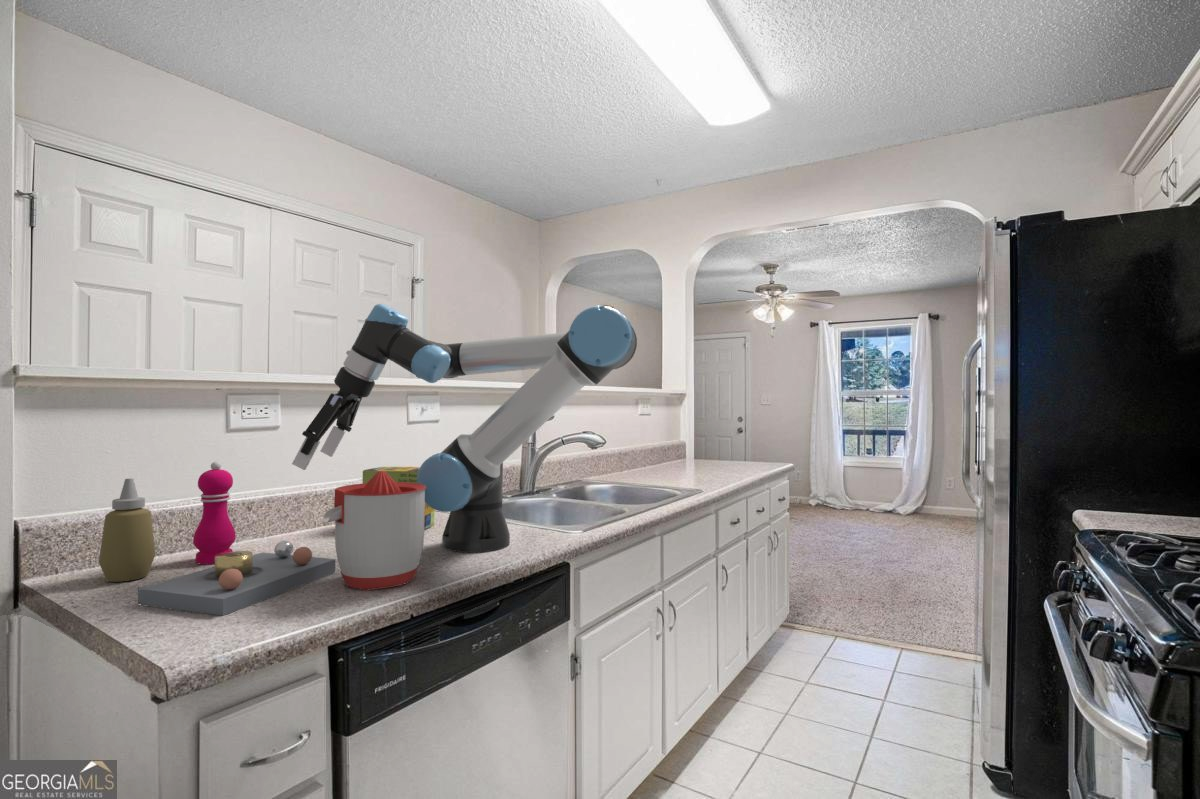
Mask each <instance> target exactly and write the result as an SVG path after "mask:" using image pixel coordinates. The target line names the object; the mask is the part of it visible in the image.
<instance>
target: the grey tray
mask: <svg viewBox="0 0 1200 799" xmlns="http://www.w3.org/2000/svg"><path fill="white" fill-rule="evenodd" d="M334 573H336V558H329V557H317V556H312V558H311V560H310V561H309V562H308V563H307V564H304V565H298V564H296V563H295V562H294V561H293V554H291V555H290V556H288V557H286V558H280V557H278V556H277V555H276V554H275V552H274V553H272V552H259V553H256V554H253V557H252V571H251V572H249V573H247V574H243V575H242V576H243V579H242V582H241V584H240V585H239V586H238V587H237V588H235V589H231V590H226V589H224V588H222V587H221V586H220V584H219V577H218V576H215V565H214V566H211V567H207V568H204V569H202V570H198V571H195V572H191V573H187V574H184V575H181V576H178V577H174V578H171V579H166V580H163V581H160V582H159V581H158V582H156V583H153V584H150V585H149V584H148V585H146V586H143V587H139V588H137V605H138V604H141V605H140V606H144V605H147V606H146V607H152V606H154V608H159V607H164V608H163V609H167V608H171V609H170V610H175V609H177V610H176V611H182V610H186V611H185V612H190V611H192V612H191V613H198V612H202V613H201V614H205V613H207V614H206V615H213V614H215V616H221V615H223V616H226V615H229V614H231V612H232V613H234V612H236V610H237V611H239V610H241V609H245V608H247V607H249V606H252V605H254V604H257V603H260V602H262V601H265V600H267V599H271V598H272V597H275V596H277V595H280V593H281V594H282V593H285V592H289V591H290V590H293V589H296V588H298V586H299V587H301V586H304V585H306V584H308V583H311V582H314V581H317V580H319V579H322V578H324V577H326V576H329V575H332V574H334ZM155 606H156V607H155ZM233 611H234V612H233ZM228 613H229V614H228ZM225 614H226V615H225ZM223 616H222V617H223Z"/></svg>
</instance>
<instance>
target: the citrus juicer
mask: <svg viewBox="0 0 1200 799" xmlns="http://www.w3.org/2000/svg"><path fill="white" fill-rule="evenodd" d="M425 489H426V485H423V484H419V483H409V482H395V481H394V480H393V479H392V478H391V477H390V476H389V475H388V474H387V473H386V472H384V471H382V470H381V471H379V472H378V473H376V474H375V475H374V476H373V477H372V478H371V479H370V481H369V482H368V483H363V482H362V483H357V484H356V483H355V484H354V483H353V484H348V485H342V486H338V487H336V488H335V489H334V500H333V501H334V503H333V505H334V506H333V508H331V509H329V510H327V511H326V512H325V513H324V516H323V519H322V521H323V523H324V524H328V523H332V522H335V524H334V525H335V526H334V531H335V532H334V540H335V541H334V544H335V546H334V547H335V553H336V560H337V563H338V566H339V570H340V575H341V577H342V579H343V581H344V583H345V585H346V586H347V587H351V588H354V589H359V590H361V591H364V590H366V591H371V589H372V590H376V589H385V588H386V589H387V588H392V587H397V586H401V585H405V584H404V583H407V582H408V583H410V581H412V580H413V579H414V578H415V575H416V573H417V571H418V569H419V563H420V560H421V557H422V553H423V546H424V540H425V531H424V511H425ZM408 583H407V584H408Z"/></svg>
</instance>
